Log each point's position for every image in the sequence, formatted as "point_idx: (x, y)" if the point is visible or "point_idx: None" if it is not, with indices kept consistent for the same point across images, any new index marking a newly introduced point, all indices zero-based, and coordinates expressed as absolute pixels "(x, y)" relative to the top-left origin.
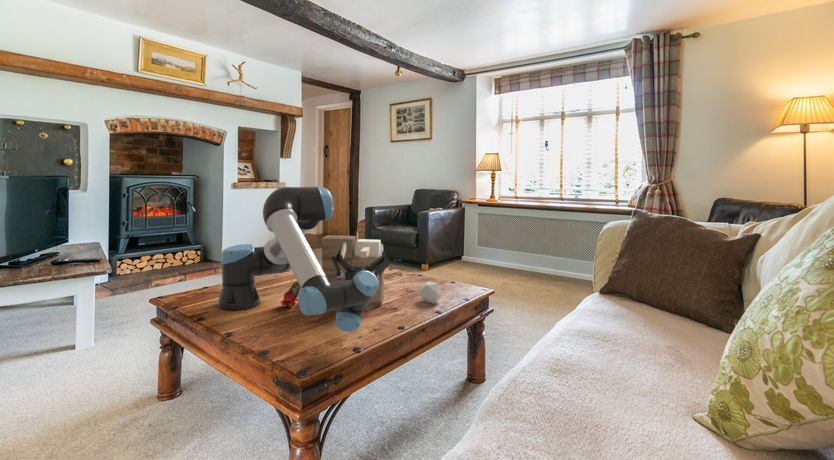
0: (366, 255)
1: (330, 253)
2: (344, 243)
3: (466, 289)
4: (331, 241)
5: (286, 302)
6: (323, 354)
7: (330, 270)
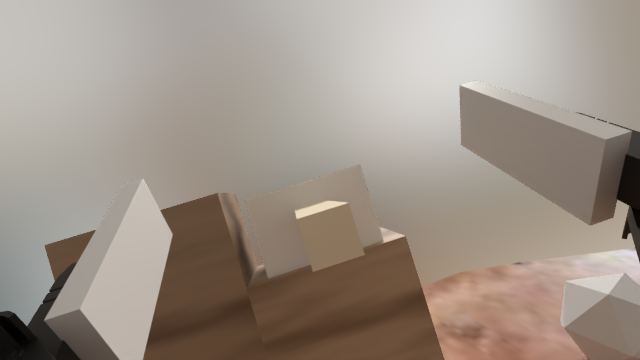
0: (357, 235)
1: None
2: (129, 185)
3: (599, 265)
4: None
5: None
6: None
7: None
